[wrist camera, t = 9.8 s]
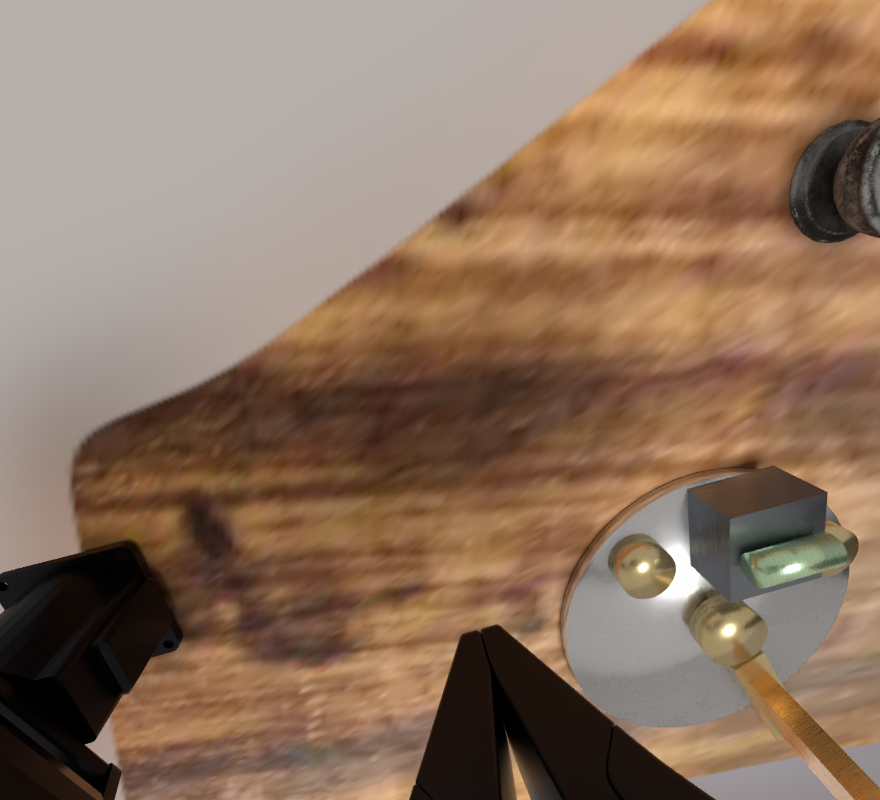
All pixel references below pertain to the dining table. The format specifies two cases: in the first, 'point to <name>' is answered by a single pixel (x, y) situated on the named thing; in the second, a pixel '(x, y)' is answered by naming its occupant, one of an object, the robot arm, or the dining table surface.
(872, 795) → the lever
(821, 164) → the grey chess bishop
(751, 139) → the dining table surface
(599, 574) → the levelling plate
